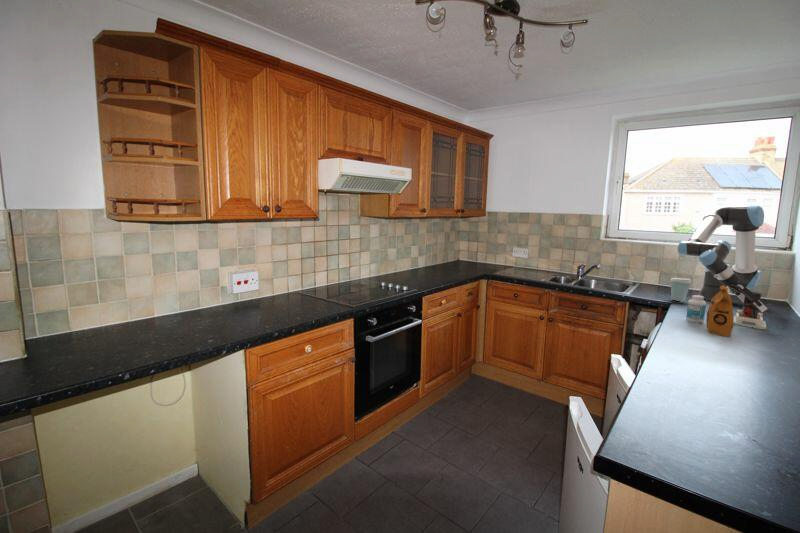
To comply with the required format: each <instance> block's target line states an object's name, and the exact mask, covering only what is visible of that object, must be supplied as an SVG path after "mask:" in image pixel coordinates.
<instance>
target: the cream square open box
mask: <svg viewBox="0 0 800 533" xmlns="http://www.w3.org/2000/svg"><path fill="white" fill-rule="evenodd" d="M742 310H743V309H742ZM742 310H741V309H737V310H736V315H735V316H734V319H733V326H734V325H735V326H740V325H741V326H742V327H746V326H747V327H748V328H752V327H753V329H759V330H764V329H765V330H767V323H766V321H765V320H764V319H763V312H758V315H757V319H753V318H747V317H741V316H742ZM741 326H740V327H741ZM747 327H746V328H747ZM765 330H764V331H765Z"/></svg>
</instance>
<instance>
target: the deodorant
mask: <svg viewBox="0 0 800 533" xmlns="http://www.w3.org/2000/svg"><path fill="white" fill-rule="evenodd" d="M751 292H752V293H753V294H755V295H756V296H757V297H758V298H759V300H760V301H761V298H762V293H761V292H758V291H751ZM751 302H752V301H751V300H750V299H748V298H747V297H746V296H745V298H744V303H743V305H742V316H741V317H747V318H753V319H757V315H758V313H759V309H758V308H757V307H756V306H755V305H754V304H753V303H751Z"/></svg>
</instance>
